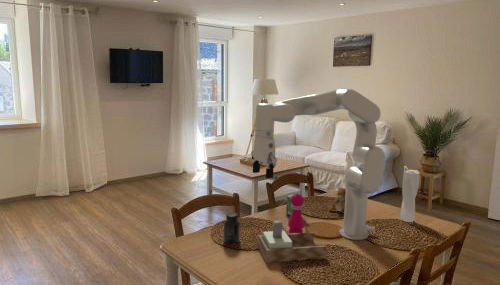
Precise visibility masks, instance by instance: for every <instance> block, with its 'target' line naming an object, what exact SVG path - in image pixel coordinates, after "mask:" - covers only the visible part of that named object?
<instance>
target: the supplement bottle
mask: <svg viewBox="0 0 500 285" xmlns="http://www.w3.org/2000/svg"><path fill="white" fill-rule="evenodd" d="M225 216H226V217H225V220H224V223H223V242H224V241H225V242H226V243H225V242H224V243H225V244H228V243H229V244H228V245H235V243H236V244H238V243H240V235H241V234H240V233H241V222H240V220H239V215H238V213H237V212H227V213H226V215H225Z"/></svg>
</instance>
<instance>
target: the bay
mask: <svg viewBox="0 0 500 285" xmlns="http://www.w3.org/2000/svg"><path fill="white" fill-rule="evenodd" d="M286 234H287V235H288V237H289V238H290V239H291V241H292V248H278V249H268V247H267V245H266V244H265V242H264V240H263V234H260V235H259V234H258V239H257V248H258V247H259V248H258V249H259V252H260V253H261V255H262V257H263V259H264V261H265V263H266V264H268V263H270V264H271V263H282V262H283V261H284V262H294V261H293V260H298V261H307V260H306V259H311V260H321V259H324V260H325V259H326V258H327V245H317V244H316V243H315V242H314V241H315V232H310V231H309V232H303V233H290V234H289V233H286Z"/></svg>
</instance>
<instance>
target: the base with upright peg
mask: <svg viewBox="0 0 500 285" xmlns="http://www.w3.org/2000/svg"><path fill="white" fill-rule="evenodd" d="M287 234H288V233H286V231H285V230H283V221H282V220H273V222H272V231H271V230H270V231H262V235H263V240H264V242H265V244H266V245H267V247H268V249H278V248H292V241H291V239H290V238H289V237H288V235H287Z"/></svg>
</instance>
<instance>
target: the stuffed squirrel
mask: <svg viewBox="0 0 500 285" xmlns="http://www.w3.org/2000/svg"><path fill="white" fill-rule="evenodd" d="M337 189H338V191H337V193H336V194H335V196H336V197H335V199H334V200H333V203H332V207H330V208H328V211H329V210H337V211H342V212H343V213H344V210H345V197H346V187H345V188H344V187H340V186H338V187H337ZM337 211H336V212H337Z"/></svg>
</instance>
